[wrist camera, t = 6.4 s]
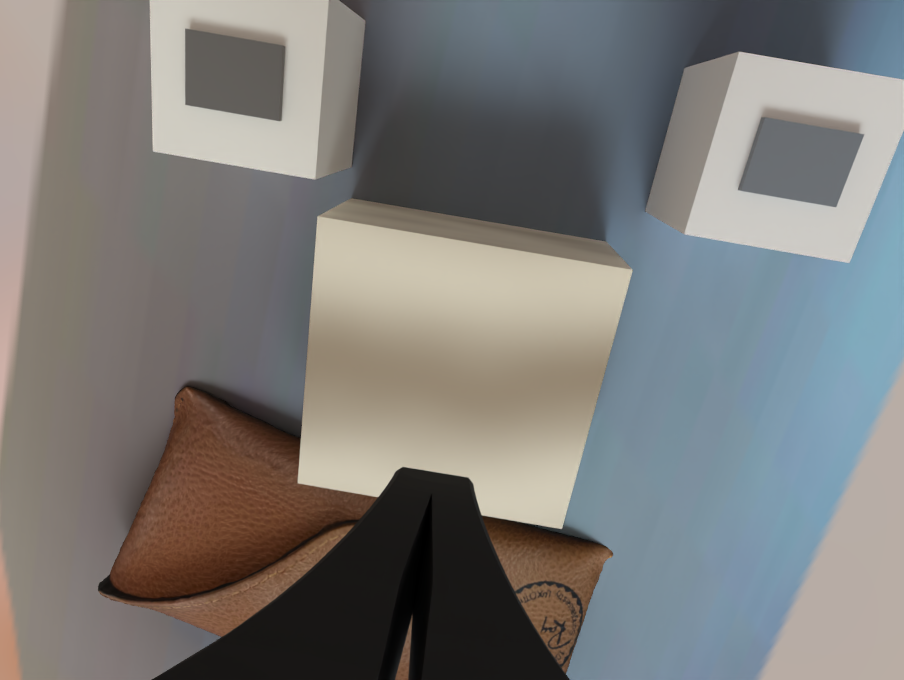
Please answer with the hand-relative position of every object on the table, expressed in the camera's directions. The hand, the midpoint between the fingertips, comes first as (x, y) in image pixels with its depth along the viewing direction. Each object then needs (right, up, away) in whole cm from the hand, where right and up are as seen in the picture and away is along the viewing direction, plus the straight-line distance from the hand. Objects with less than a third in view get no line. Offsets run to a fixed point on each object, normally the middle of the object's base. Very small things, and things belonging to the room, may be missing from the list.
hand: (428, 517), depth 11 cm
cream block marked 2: (-4, +11, +7) cm, 13 cm away
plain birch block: (+1, +3, +9) cm, 10 cm away
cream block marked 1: (+9, +9, +6) cm, 14 cm away
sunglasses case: (-3, -5, +13) cm, 14 cm away
